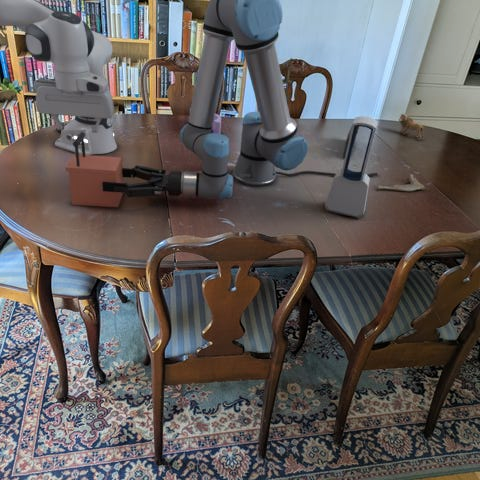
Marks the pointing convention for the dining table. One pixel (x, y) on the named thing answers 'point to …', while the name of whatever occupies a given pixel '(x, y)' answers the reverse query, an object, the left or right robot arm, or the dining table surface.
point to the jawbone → (405, 186)
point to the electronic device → (352, 178)
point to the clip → (216, 124)
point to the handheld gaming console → (348, 141)
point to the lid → (91, 161)
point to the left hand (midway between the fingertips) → (78, 130)
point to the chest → (94, 188)
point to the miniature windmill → (286, 79)
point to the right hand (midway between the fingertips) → (106, 178)
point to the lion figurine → (410, 125)
